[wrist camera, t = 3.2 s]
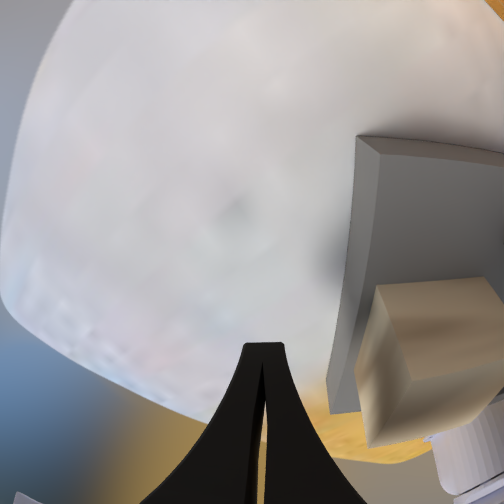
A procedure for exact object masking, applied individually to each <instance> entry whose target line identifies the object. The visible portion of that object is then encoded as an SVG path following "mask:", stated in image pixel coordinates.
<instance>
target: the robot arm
mask: <svg viewBox="0 0 504 504" xmlns="http://www.w3.org/2000/svg"><path fill="white" fill-rule="evenodd" d="M265 401H266V413H267V451H266V474H265V492H264V504H367V503H366V502H365V501H364V500H363V498H362V497H361V496H360V495H359V494H358V493H357V491H356V490H355V489H354V488H353V487H352V485H351V484H350V483H349V482H348V480H347V479H346V478H345V476H344V475H343V473H342V472H341V471H340V469H339V468H338V466H337V465H336V463H335V462H334V460H333V459H332V458H331V456H330V455H329V453H328V451H327V450H326V448H325V446H324V445H323V443H322V442H321V440H320V438H319V436H318V434H317V433H316V431H315V429H314V427H313V425H312V423H311V421H310V419H309V417H308V415H307V413H306V411H305V409H304V407H303V404H302V402H301V400H300V397H299V395H298V392H297V390H296V387H295V384H294V382H293V379H292V376H291V373H290V369H289V366H288V362H287V358H286V353H285V347H284V344H283V343H282V342H261V343H245V344H244V345H243V349H242V352H241V356H240V359H239V362H238V365H237V367H236V370H235V373H234V375H233V378H232V380H231V382H230V384H229V386H228V389H227V391H226V393H225V395H224V397H223V399H222V401H221V403H220V404H219V406H218V408H217V410H216V412H215V414H214V415H213V417H212V419H211V421H210V422H209V424H208V425H207V427H206V429H205V430H204V432H203V433H202V435H201V436H200V438H199V439H198V441H197V442H196V443H195V444H194V446H193V447H192V449H191V450H190V451H189V453H188V454H187V455H186V456H185V458H184V459H183V460H182V461H181V462H180V464H179V465H178V466H177V467H176V468H175V469H174V470H173V471H172V473H171V474H170V475H169V476H168V477H167V478H166V479H165V480H164V481H163V482H162V483H161V484H160V485H159V486H158V487H157V488H156V489H155V490H154V491H153V492H151V493H150V494H149V495H148V496H147V497H146V498H145V499H144V500H143V501H141V502H140V504H257V485H258V458H259V447H260V440H261V432H262V424H263V416H264V408H265ZM428 441H431V445H432V449H433V453H434V457H435V461H436V466H437V471H438V476H439V480H440V483H441V486H442V487H443V489H444V490H445V491H446V492H448V493H449V494H453V495H461V496H459V497H457V498H455V499H454V503H453V504H504V400H501V401H499V402H496V403H494V404H491V405H489V406H486V407H485V408H484V409H483V411H482V412H481V413H480V414H479V415H478V416H477V417H476V418H475V419H474V420H473V421H472V422H471V423H469V424H466V425H463V426H460V427H457V428H454V429H450V430H447V431H444V432H440V433H437V434H433V435H430V436H426V437H424V439H423V442H428ZM462 494H463V495H462ZM13 504H42V503H39V502H37V501H35V500H33V499H31V498H29V497H28V496H26V495H24V494H22V493H20V492H17V493H16V496H15V499H14V503H13Z"/></svg>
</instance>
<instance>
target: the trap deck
mask: <svg viewBox="0 0 504 504" xmlns="http://www.w3.org/2000/svg"><path fill="white" fill-rule="evenodd" d="M482 276H484V277H485V279H486V280H487V281H488V283H489V284H490V285H491V287H492V288H493V289H494V291H495V292H496V294H497V295H498V296H499V298H500V299H501V301H502V302H503V304H504V154H503V153H498V152H493V151H488V150H483V149H477V148H471V147H465V146H458V145H452V144H444V143H437V142H428V141H419V140H409V139H398V138H384V137H368V136H356V148H355V169H354V186H353V199H352V212H351V222H350V232H349V242H348V251H347V259H346V267H345V274H344V282H343V289H342V295H341V302H340V308H339V314H338V320H337V326H336V332H335V337H334V343H333V348H332V353H331V358H330V363H329V368H328V372H327V377H326V384H327V392H328V401H329V409H330V414H341V413H350V412H358V411H361V406H360V400H359V395H358V389H357V384H356V379H355V374H354V367H355V364H356V361H357V358H358V354H359V351H360V348H361V344H362V341H363V337H364V333H365V330H366V326H367V322H368V318H369V314H370V310H371V306H372V302H373V298H374V294H375V289H376V285H384V284H399V283H413V282H426V281H439V280H451V279H462V278H472V277H482ZM501 400H504V387H503V388H502V389H501V390H500V391H499V393H498V394H497V395H496V396H495V397H494V398H493V400H492V401H491V402H490V403H489V404H488V405H487V406H489V405H491V404H494V403H496V402H499V401H501Z"/></svg>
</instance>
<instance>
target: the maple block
mask: <svg viewBox="0 0 504 504" xmlns="http://www.w3.org/2000/svg"><path fill="white" fill-rule="evenodd" d="M354 374H355V379H356V384H357V389H358V395H359V400H360V406H361V411H362V417H363V423H364V429H365V435H366V441H367V448H368V449H369V448H375V447H381V446H386V445H391V444H396V443H401V442H405V441H410V440H414V439H418V438H422V437H426V436H430V435H433V434H437V433H440V432H444V431H447V430H450V429H454V428H457V427H460V426H463V425H466V424H469V423H471V422H472V421H473V420H474V419H475V418H476V417H477V416H478V415H479V414H480V413H481V412H482V411H483V409H484V408H485V407H486V406H487V405H488V404H489V403H490V402H491V401H492V400H493V398H494V397H495V396H496V395H497V394H498V393H499V391H500V390H501V389H502V388H503V387H504V304H503V302H502V301H501V299H500V298H499V296H498V295H497V294H496V292H495V291H494V289H493V288H492V287H491V285H490V284H489V283H488V281H487V280H486V279H485V277H484V276H482V277H472V278H462V279H451V280H439V281H426V282H413V283H399V284H384V285H376V289H375V294H374V298H373V302H372V306H371V310H370V314H369V318H368V322H367V326H366V330H365V333H364V337H363V341H362V344H361V348H360V351H359V354H358V358H357V361H356V364H355V367H354Z"/></svg>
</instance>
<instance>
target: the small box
mask: <svg viewBox="0 0 504 504" xmlns="http://www.w3.org/2000/svg"><path fill="white" fill-rule="evenodd" d="M485 1H486V2H487V3H488V4H489V6H490V7H491V8H492V9H493V10H494V11H495V12H496V13H497V14H498V15H499V16H500V18H501V19H502V20H503V21H504V0H485Z"/></svg>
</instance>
